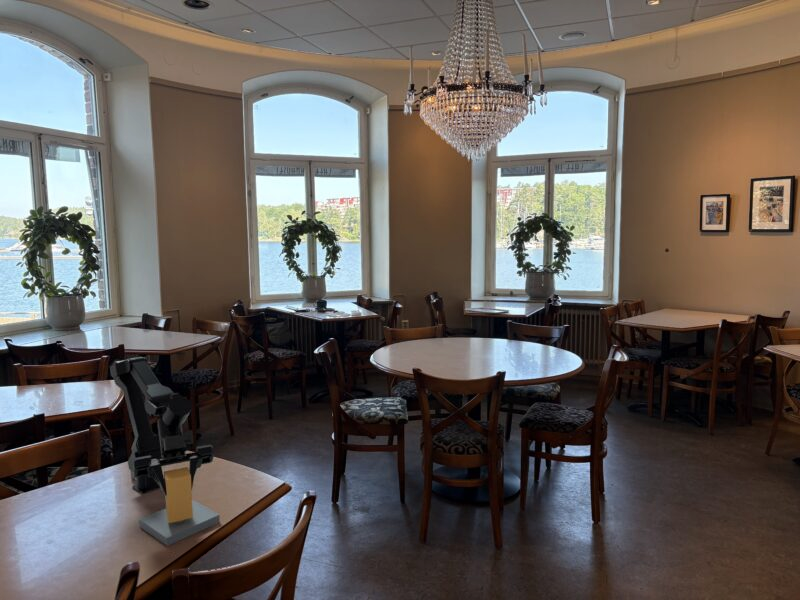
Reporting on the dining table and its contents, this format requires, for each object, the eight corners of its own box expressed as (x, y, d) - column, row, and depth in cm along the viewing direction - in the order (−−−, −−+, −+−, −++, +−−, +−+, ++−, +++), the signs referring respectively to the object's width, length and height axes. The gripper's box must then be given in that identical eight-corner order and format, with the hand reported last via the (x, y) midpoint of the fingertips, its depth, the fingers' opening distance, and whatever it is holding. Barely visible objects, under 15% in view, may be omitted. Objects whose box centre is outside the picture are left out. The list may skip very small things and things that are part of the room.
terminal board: (139, 526, 138) (138, 507, 138) (190, 505, 149) (189, 487, 149) (167, 545, 130) (166, 526, 129) (219, 522, 140) (218, 503, 140)
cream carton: (166, 513, 138) (163, 471, 137) (189, 507, 141) (187, 466, 139) (168, 523, 133) (166, 480, 132) (192, 517, 136) (190, 475, 135)
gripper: (131, 427, 133) (136, 488, 125) (211, 414, 142) (221, 471, 134) (131, 447, 141) (136, 506, 133) (207, 434, 150) (216, 488, 142)
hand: (178, 492), depth 135 cm, fingers closed on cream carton, 5 cm apart
